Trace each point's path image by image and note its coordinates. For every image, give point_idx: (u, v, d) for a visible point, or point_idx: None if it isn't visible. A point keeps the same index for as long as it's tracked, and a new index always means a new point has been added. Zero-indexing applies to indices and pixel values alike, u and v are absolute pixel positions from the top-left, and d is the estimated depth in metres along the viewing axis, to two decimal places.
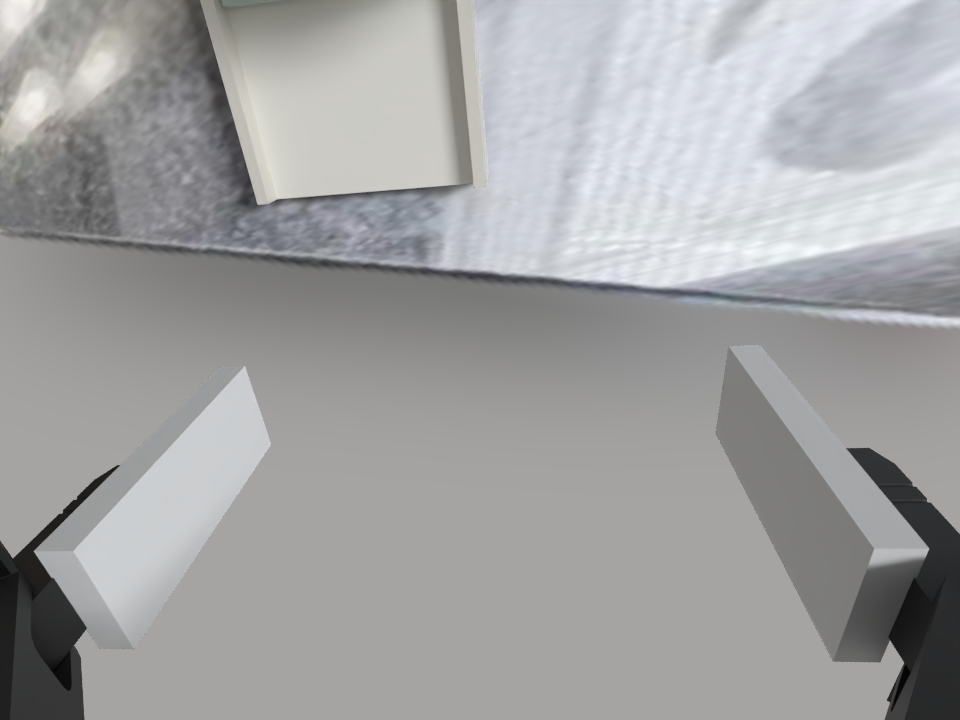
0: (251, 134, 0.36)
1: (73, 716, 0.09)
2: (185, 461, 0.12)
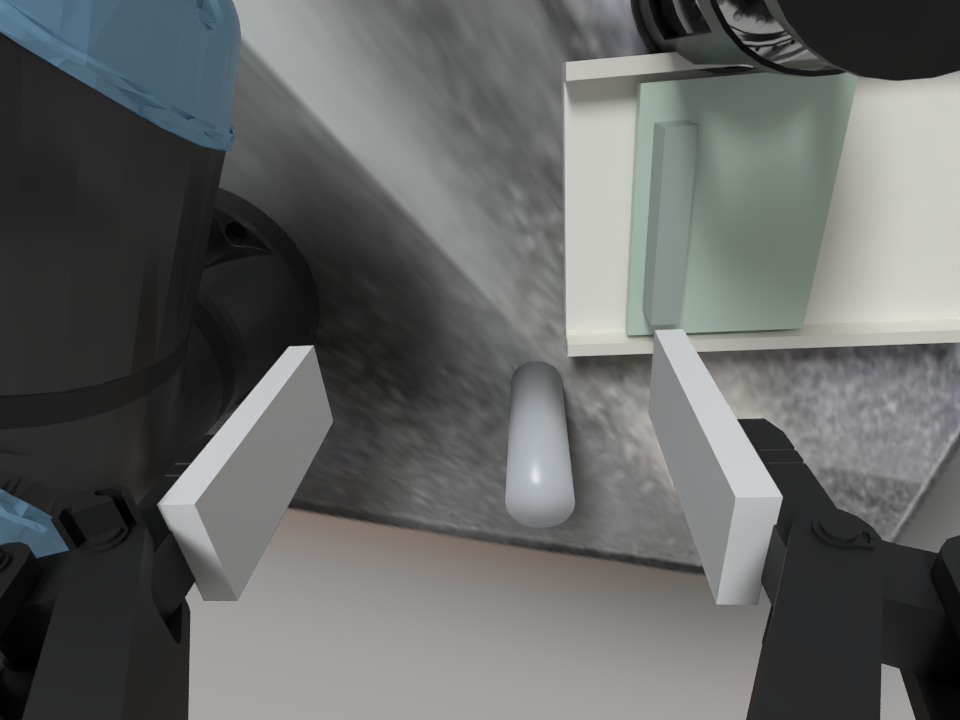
0: (908, 329, 0.31)
1: (180, 669, 0.09)
2: (271, 430, 0.13)
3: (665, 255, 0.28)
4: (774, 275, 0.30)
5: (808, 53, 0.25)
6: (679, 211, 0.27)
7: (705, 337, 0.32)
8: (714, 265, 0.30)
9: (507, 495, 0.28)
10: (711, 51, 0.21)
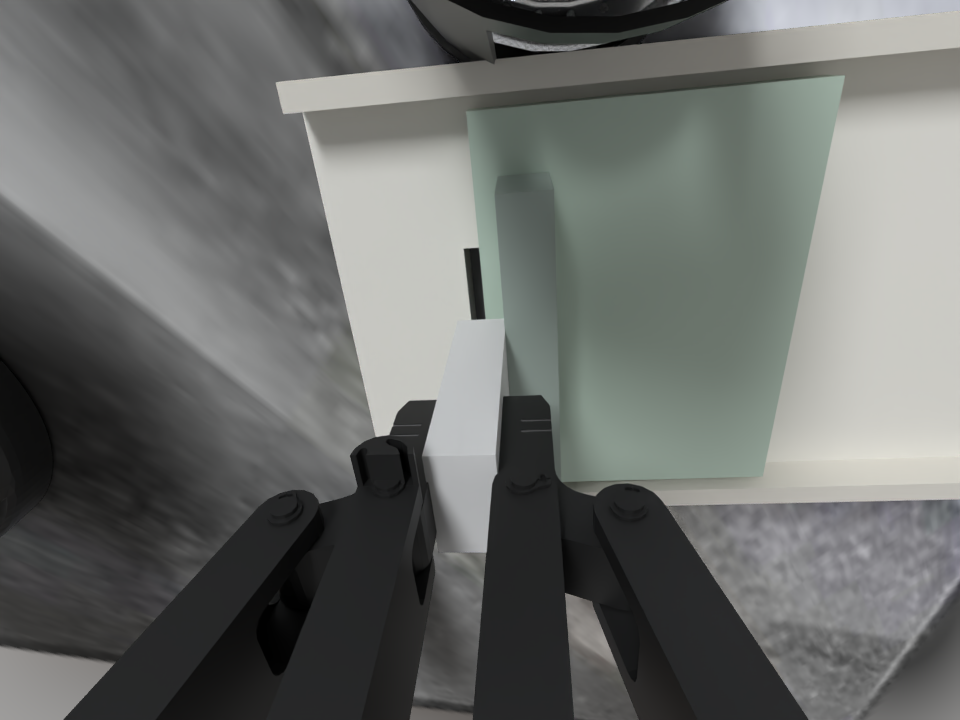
0: (880, 480, 0.20)
1: (418, 632, 0.10)
2: None
3: (525, 395, 0.17)
4: (715, 405, 0.19)
5: (689, 63, 0.14)
6: (538, 330, 0.15)
7: (578, 487, 0.22)
8: (620, 391, 0.19)
9: None
10: (443, 21, 0.10)
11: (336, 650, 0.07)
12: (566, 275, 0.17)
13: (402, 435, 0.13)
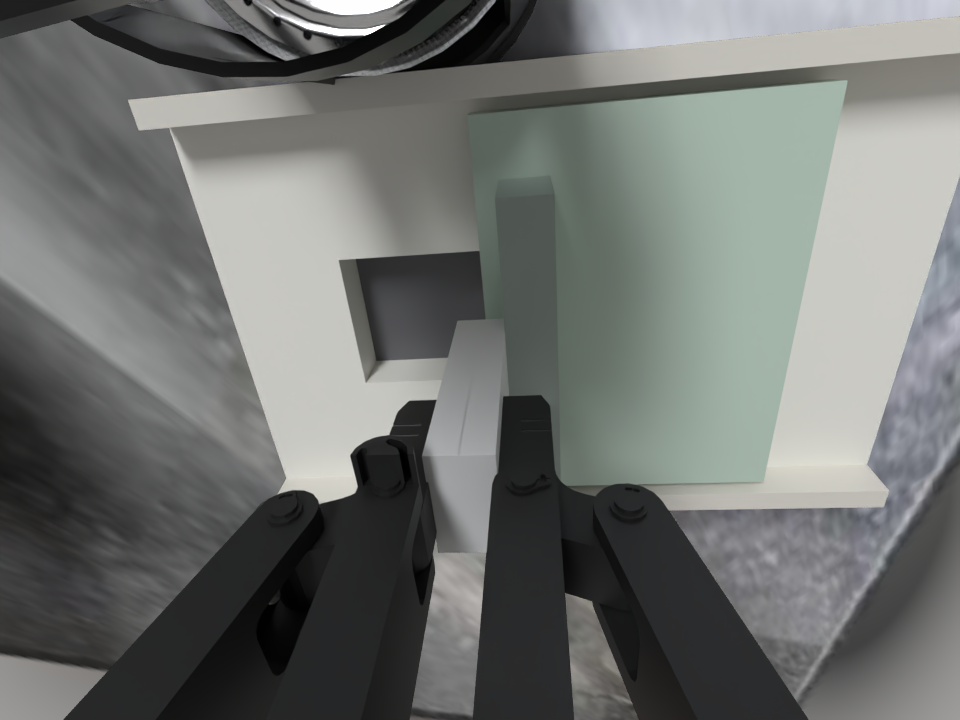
0: (760, 488, 0.21)
1: (418, 632, 0.10)
2: None
3: None
4: (715, 409, 0.19)
5: (521, 84, 0.14)
6: (538, 334, 0.15)
7: None
8: (620, 395, 0.19)
9: None
10: None
11: (336, 650, 0.07)
12: (567, 279, 0.17)
13: (402, 435, 0.13)
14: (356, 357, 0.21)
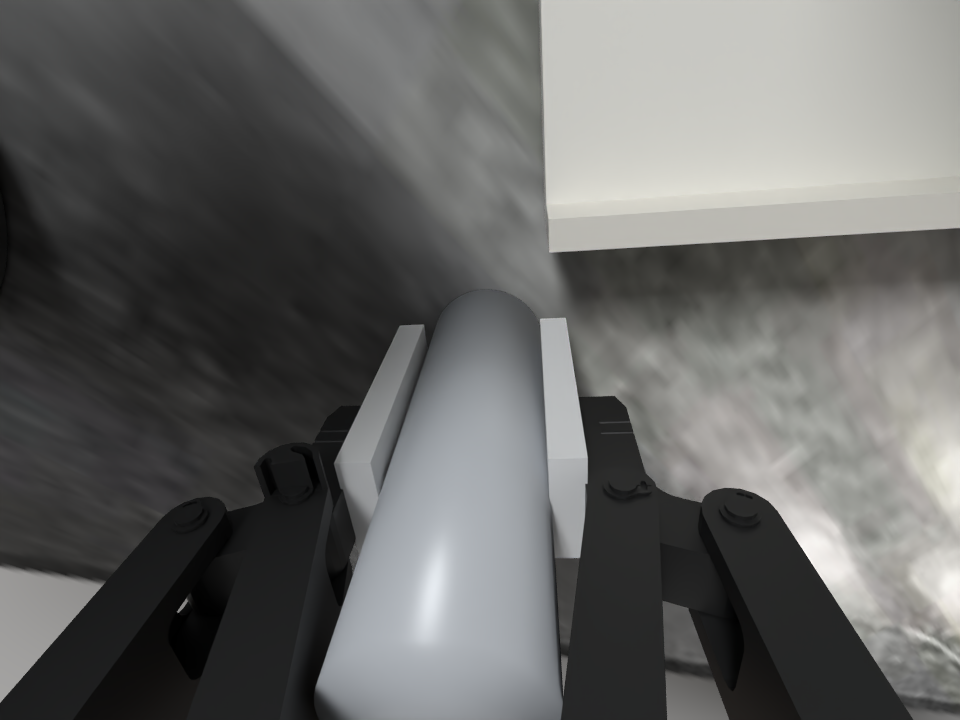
0: None
1: None
2: (405, 401, 0.14)
3: None
4: None
5: None
6: None
7: (917, 191, 0.12)
8: None
9: (318, 693, 0.08)
10: None
11: (251, 656, 0.07)
12: None
13: (327, 441, 0.13)
14: None
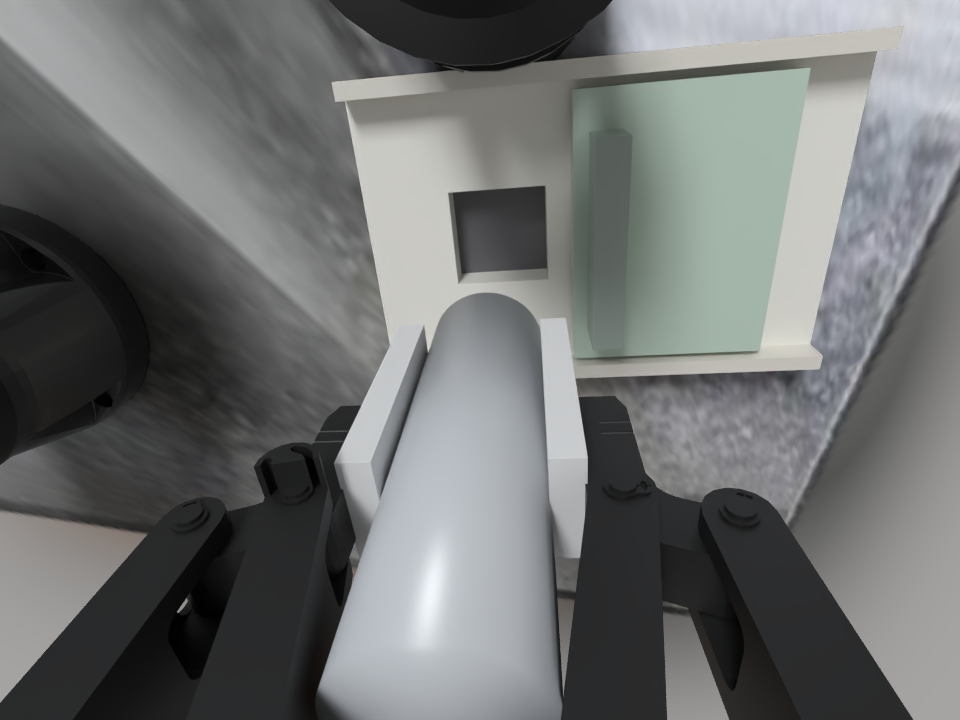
0: (734, 357, 0.30)
1: None
2: (405, 401, 0.14)
3: (604, 275, 0.25)
4: (727, 295, 0.28)
5: (580, 72, 0.24)
6: (616, 228, 0.24)
7: None
8: (662, 285, 0.28)
9: (319, 698, 0.08)
10: None
11: (251, 656, 0.07)
12: (630, 199, 0.26)
13: (327, 441, 0.13)
14: (453, 264, 0.30)
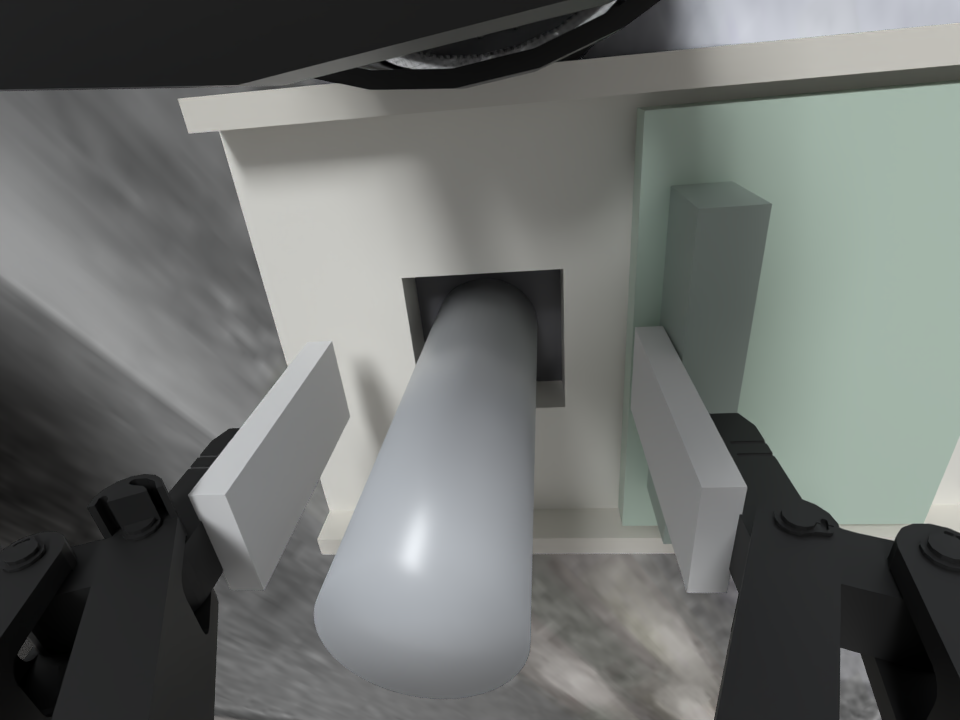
0: (859, 530, 0.19)
1: (207, 659, 0.10)
2: (294, 423, 0.13)
3: None
4: (882, 445, 0.17)
5: (634, 82, 0.13)
6: (722, 365, 0.13)
7: (533, 532, 0.20)
8: (775, 428, 0.17)
9: (317, 609, 0.09)
10: None
11: (106, 695, 0.07)
12: None
13: (203, 467, 0.12)
14: None
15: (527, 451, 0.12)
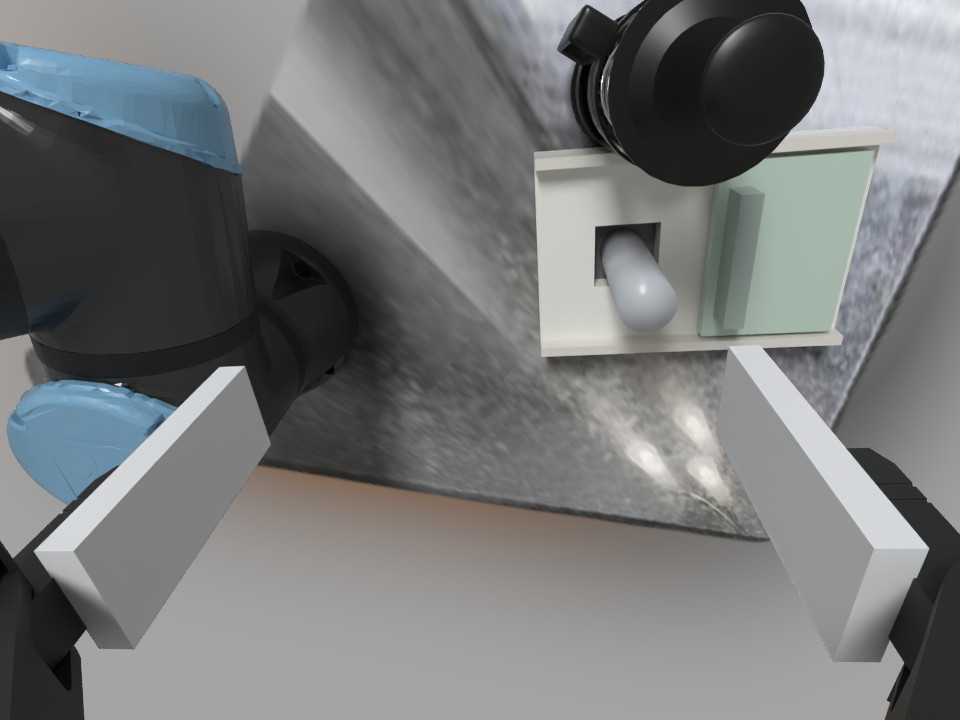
0: (782, 337, 0.44)
1: (73, 717, 0.09)
2: (185, 461, 0.12)
3: (736, 280, 0.39)
4: (810, 292, 0.42)
5: None
6: (748, 250, 0.38)
7: (640, 342, 0.45)
8: (767, 286, 0.42)
9: (621, 298, 0.34)
10: None
11: None
12: None
13: None
14: (592, 273, 0.44)
15: None
